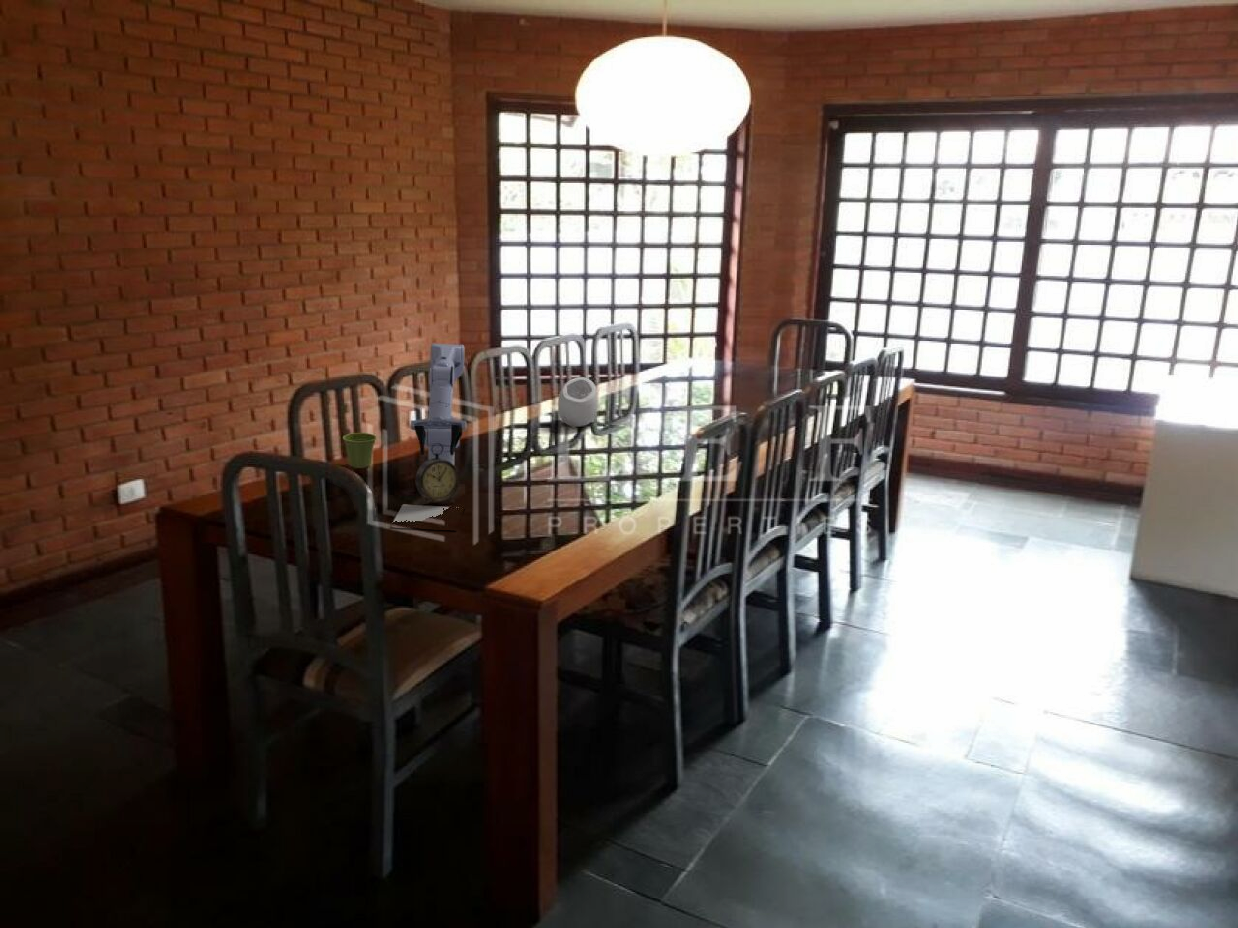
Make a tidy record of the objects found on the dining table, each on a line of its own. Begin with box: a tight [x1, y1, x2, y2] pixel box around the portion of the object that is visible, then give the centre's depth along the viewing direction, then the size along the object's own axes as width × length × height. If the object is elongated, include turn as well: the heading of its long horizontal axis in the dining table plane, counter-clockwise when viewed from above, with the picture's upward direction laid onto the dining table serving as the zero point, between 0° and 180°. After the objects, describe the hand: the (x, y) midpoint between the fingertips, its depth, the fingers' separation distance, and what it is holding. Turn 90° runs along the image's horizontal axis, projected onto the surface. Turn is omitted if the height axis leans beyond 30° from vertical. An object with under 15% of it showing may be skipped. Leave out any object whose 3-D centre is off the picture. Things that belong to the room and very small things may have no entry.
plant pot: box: [342, 432, 377, 469], centre depth 275 cm, size 9×9×9 cm
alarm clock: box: [414, 443, 460, 506], centre depth 248 cm, size 11×5×16 cm, turn 126°
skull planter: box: [557, 376, 599, 429], centre depth 340 cm, size 14×20×19 cm
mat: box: [392, 503, 457, 523], centre depth 239 cm, size 16×16×1 cm
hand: (437, 453), depth 249 cm, fingers open, 7 cm apart
